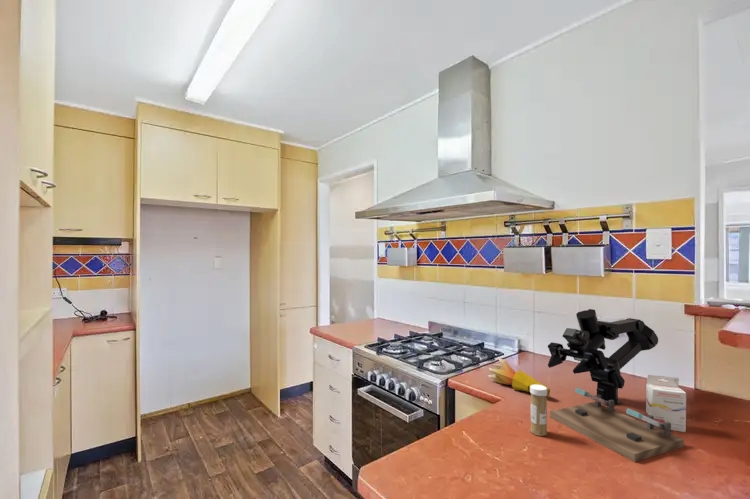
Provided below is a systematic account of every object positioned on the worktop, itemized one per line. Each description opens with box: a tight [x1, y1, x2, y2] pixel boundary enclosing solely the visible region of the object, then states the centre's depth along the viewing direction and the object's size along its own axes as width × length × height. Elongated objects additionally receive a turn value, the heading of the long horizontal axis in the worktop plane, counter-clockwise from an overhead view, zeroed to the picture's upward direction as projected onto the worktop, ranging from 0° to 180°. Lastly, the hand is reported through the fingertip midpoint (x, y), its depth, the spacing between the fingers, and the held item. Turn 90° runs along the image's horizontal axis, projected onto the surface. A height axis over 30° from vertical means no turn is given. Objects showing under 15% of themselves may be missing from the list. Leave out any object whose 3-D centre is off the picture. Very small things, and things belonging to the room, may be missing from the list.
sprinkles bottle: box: [529, 385, 548, 437], centre depth 105 cm, size 5×5×14 cm
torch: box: [487, 356, 551, 397], centre depth 138 cm, size 8×8×25 cm
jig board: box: [549, 394, 685, 463], centre depth 106 cm, size 20×26×6 cm
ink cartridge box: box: [645, 374, 687, 433], centre depth 109 cm, size 9×5×15 cm, turn 71°
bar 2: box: [625, 408, 664, 431], centre depth 100 cm, size 13×3×1 cm, turn 111°
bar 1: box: [574, 387, 608, 407], centre depth 115 cm, size 13×3×1 cm, turn 111°
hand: (560, 369), depth 116 cm, fingers open, 9 cm apart
